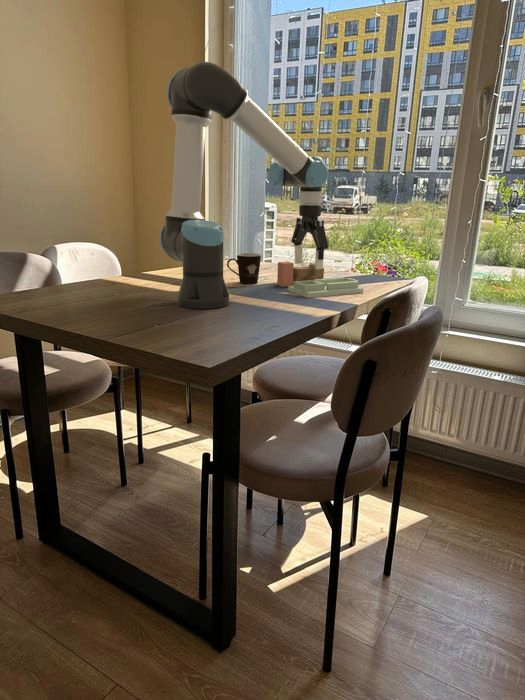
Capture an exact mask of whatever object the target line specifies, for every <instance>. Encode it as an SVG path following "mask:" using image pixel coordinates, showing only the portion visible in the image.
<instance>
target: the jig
mask: <svg viewBox="0 0 525 700" xmlns="http://www.w3.org/2000/svg"><path fill="white" fill-rule="evenodd" d="M287 290H288V292H290V293H293V294H296V295H299V296H300V297H304V298H307V299H309V298H320V297H331V296H342V295H351V294H361V293H362V294H363V293H364V287H360V281H359V279H354V278H351V277H344V276H343V277H341V276H339V277H330V278H329V277H328V278H323V279H314V280H313V281H312V280H308V281H295V282H293V286H287Z"/></svg>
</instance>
